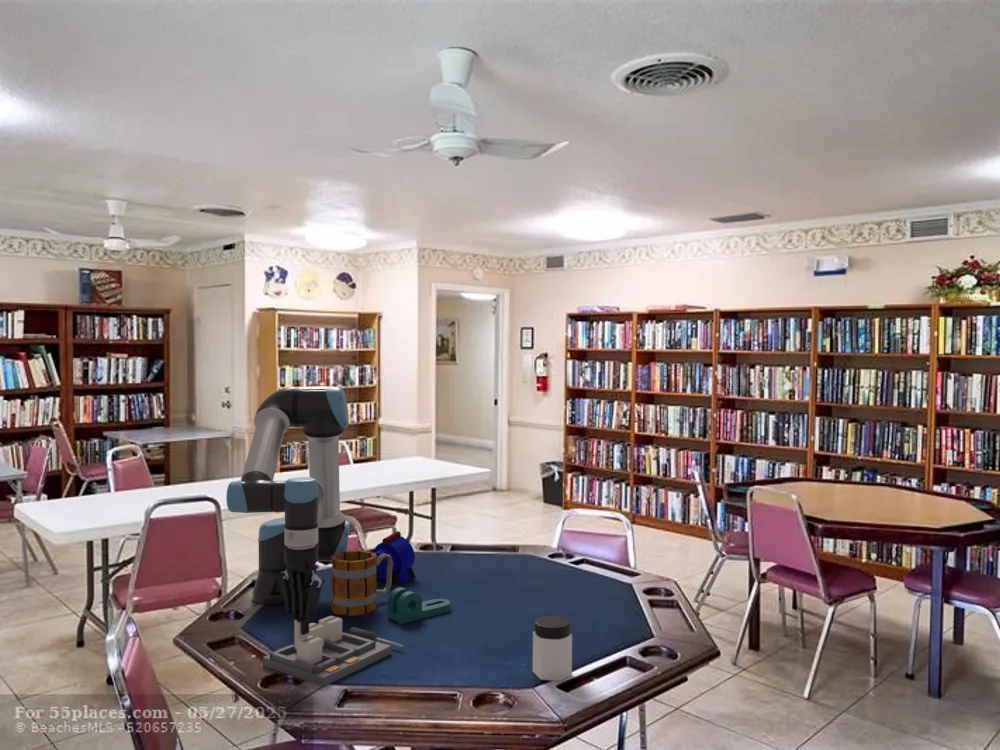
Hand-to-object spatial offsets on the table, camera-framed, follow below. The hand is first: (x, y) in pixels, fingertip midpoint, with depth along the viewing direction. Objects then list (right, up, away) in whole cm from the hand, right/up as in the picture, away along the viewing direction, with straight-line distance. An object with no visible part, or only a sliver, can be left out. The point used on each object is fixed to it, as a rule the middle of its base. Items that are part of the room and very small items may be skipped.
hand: (301, 647), depth 172 cm
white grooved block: (+1, -3, +7) cm, 7 cm away
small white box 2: (+4, -2, +12) cm, 13 cm away
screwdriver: (+15, -5, +15) cm, 22 cm away
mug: (+6, -4, +44) cm, 45 cm away
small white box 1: (+2, -3, -1) cm, 4 cm away
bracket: (+24, -5, +38) cm, 45 cm away
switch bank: (+5, -5, +5) cm, 9 cm away
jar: (+58, -6, -2) cm, 58 cm away
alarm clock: (+10, -4, +71) cm, 72 cm away
